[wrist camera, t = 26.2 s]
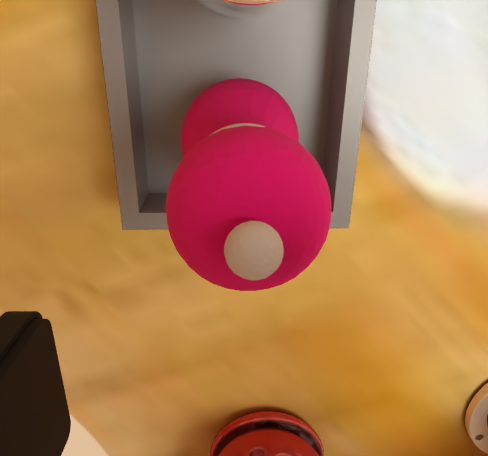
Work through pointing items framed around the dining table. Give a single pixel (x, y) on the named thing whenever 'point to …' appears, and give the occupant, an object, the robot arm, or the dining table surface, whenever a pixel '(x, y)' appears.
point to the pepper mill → (246, 189)
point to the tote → (223, 68)
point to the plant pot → (267, 437)
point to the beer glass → (246, 7)
